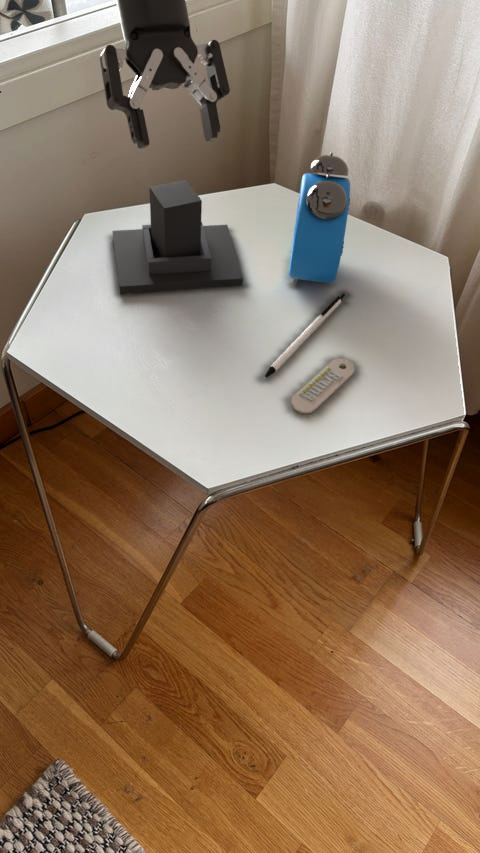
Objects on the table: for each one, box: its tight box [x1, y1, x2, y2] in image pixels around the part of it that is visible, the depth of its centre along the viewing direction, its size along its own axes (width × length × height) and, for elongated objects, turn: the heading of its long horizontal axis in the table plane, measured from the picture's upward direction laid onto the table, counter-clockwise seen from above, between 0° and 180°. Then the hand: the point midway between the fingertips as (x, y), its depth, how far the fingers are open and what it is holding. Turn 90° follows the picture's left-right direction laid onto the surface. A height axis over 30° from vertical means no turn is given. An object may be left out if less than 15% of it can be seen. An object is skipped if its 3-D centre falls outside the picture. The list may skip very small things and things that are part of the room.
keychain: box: [290, 357, 355, 414], centre depth 82 cm, size 10×1×3 cm
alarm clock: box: [288, 152, 351, 286], centre depth 90 cm, size 13×6×15 cm, turn 173°
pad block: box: [149, 179, 203, 258], centre depth 91 cm, size 5×5×9 cm
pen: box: [263, 292, 346, 379], centre depth 88 cm, size 1×19×1 cm, turn 145°
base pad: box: [112, 221, 244, 295], centre depth 94 cm, size 16×12×3 cm
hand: (178, 143), depth 81 cm, fingers open, 8 cm apart
